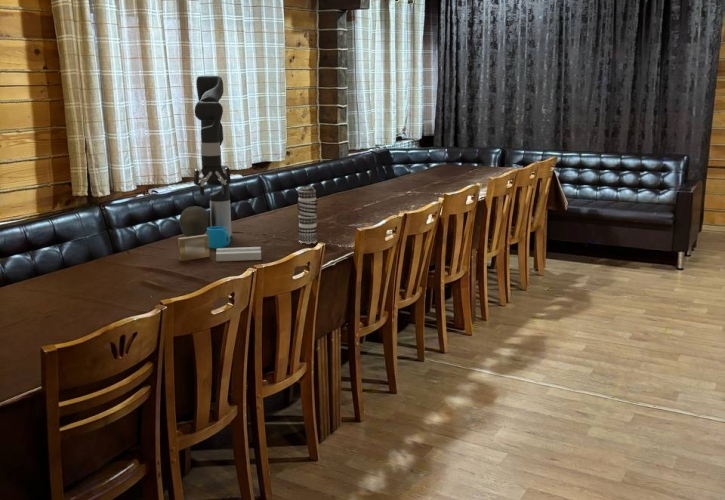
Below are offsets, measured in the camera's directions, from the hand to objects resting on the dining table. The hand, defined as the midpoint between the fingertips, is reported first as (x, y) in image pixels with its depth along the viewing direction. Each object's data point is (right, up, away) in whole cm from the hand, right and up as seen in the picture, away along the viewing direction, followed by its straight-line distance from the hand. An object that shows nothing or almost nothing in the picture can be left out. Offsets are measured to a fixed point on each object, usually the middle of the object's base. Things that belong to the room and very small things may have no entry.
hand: (213, 194), depth 267 cm
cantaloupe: (-18, -17, +43) cm, 50 cm away
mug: (-3, -21, +28) cm, 35 cm away
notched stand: (+9, -25, +10) cm, 28 cm away
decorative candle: (+35, -18, +38) cm, 55 cm away
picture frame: (-10, -25, +8) cm, 28 cm away
